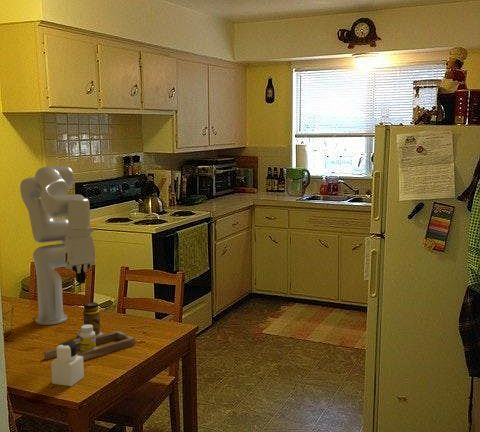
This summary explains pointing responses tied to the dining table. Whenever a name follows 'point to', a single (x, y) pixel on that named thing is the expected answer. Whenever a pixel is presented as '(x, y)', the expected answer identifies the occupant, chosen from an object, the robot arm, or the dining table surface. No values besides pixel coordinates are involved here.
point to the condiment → (92, 317)
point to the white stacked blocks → (67, 365)
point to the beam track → (98, 351)
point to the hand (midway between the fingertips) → (81, 282)
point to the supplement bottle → (87, 338)
